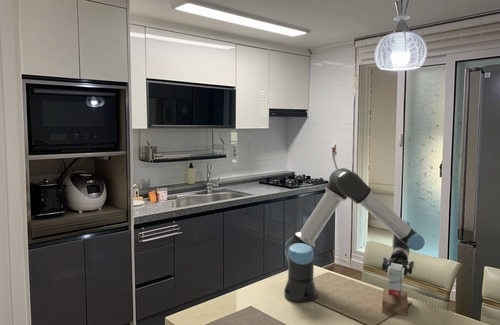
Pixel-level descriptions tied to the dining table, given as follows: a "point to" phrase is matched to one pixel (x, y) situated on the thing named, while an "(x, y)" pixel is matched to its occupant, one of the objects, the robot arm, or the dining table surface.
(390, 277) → the ink box
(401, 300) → the walnut block
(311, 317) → the dining table surface
